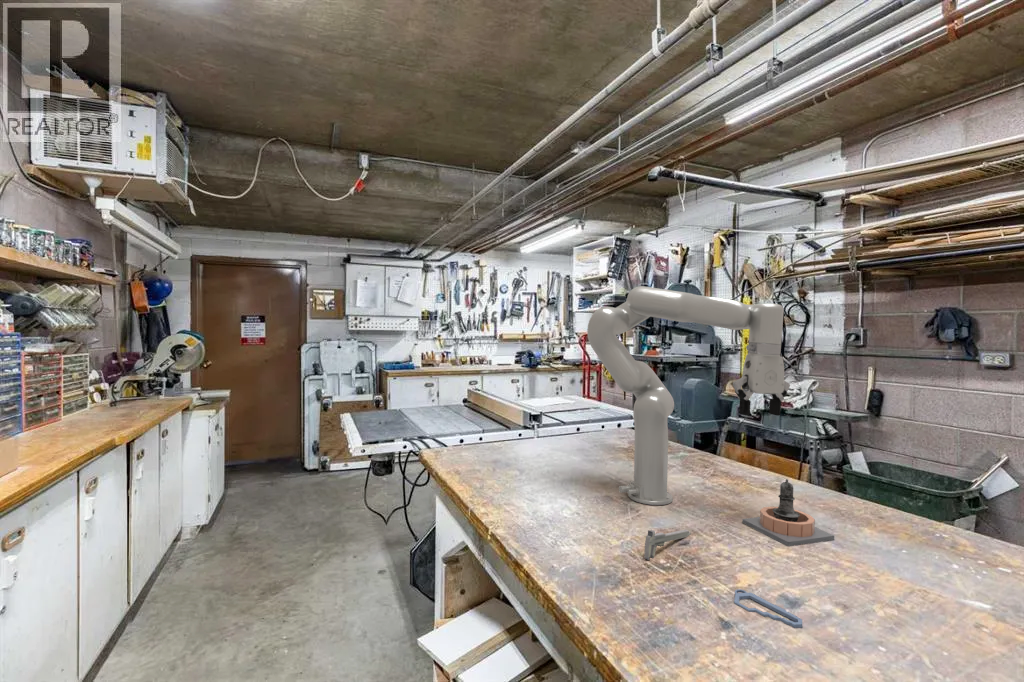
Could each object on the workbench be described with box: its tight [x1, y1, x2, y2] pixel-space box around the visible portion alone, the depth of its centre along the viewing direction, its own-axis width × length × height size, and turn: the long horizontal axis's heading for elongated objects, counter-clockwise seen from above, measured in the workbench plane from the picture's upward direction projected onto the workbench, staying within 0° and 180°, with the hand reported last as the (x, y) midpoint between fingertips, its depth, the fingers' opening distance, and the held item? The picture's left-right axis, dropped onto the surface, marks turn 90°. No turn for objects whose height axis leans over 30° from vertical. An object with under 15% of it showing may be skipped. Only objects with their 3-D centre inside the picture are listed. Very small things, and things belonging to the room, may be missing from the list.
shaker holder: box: [741, 505, 835, 547], centre depth 117 cm, size 14×14×4 cm
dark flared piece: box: [773, 478, 800, 522], centre depth 117 cm, size 6×6×12 cm
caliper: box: [643, 529, 692, 561], centre depth 107 cm, size 20×1×6 cm, turn 134°
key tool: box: [733, 588, 803, 629], centre depth 82 cm, size 12×1×5 cm
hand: (759, 414), depth 125 cm, fingers open, 9 cm apart
